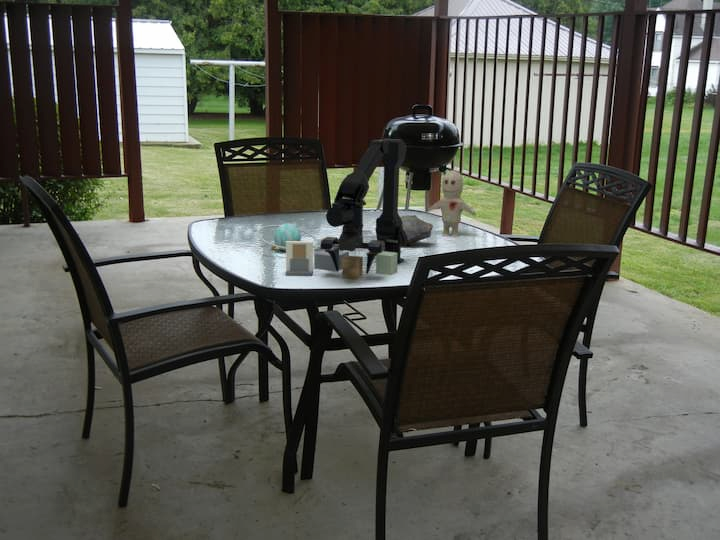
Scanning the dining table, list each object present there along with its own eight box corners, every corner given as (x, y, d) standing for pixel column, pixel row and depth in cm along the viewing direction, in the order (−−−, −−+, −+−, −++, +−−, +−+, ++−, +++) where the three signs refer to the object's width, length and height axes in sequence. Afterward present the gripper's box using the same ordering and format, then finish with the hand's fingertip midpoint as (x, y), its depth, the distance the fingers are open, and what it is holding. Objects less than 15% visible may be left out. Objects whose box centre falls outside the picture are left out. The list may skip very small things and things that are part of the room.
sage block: (382, 269, 242) (382, 251, 240) (397, 271, 240) (397, 252, 238) (375, 273, 237) (376, 254, 236) (390, 275, 235) (391, 256, 234)
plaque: (313, 271, 238) (312, 240, 235) (312, 275, 233) (312, 243, 230) (287, 271, 238) (286, 239, 235) (285, 275, 233) (285, 243, 230)
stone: (429, 209, 284) (432, 216, 269) (432, 237, 286) (436, 245, 272) (381, 215, 284) (382, 222, 270) (385, 243, 287) (386, 251, 272)
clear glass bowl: (314, 217, 274) (259, 226, 274) (312, 218, 254) (253, 228, 254) (319, 245, 275) (263, 254, 275) (318, 248, 255) (258, 258, 255)
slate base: (327, 263, 249) (327, 248, 248) (348, 266, 246) (348, 251, 244) (314, 268, 242) (314, 253, 241) (336, 272, 239) (336, 256, 237)
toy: (424, 234, 296) (426, 169, 289) (431, 231, 302) (433, 167, 296) (470, 239, 288) (473, 172, 282) (476, 236, 295) (479, 170, 288)
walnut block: (342, 278, 231) (342, 259, 229) (346, 274, 235) (346, 255, 234) (358, 279, 229) (358, 260, 228) (362, 275, 234) (362, 256, 233)
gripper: (314, 224, 223) (314, 276, 227) (377, 228, 219) (376, 281, 222) (326, 218, 233) (325, 268, 237) (386, 221, 229) (384, 272, 233)
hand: (352, 272), depth 232 cm, fingers open, 9 cm apart
